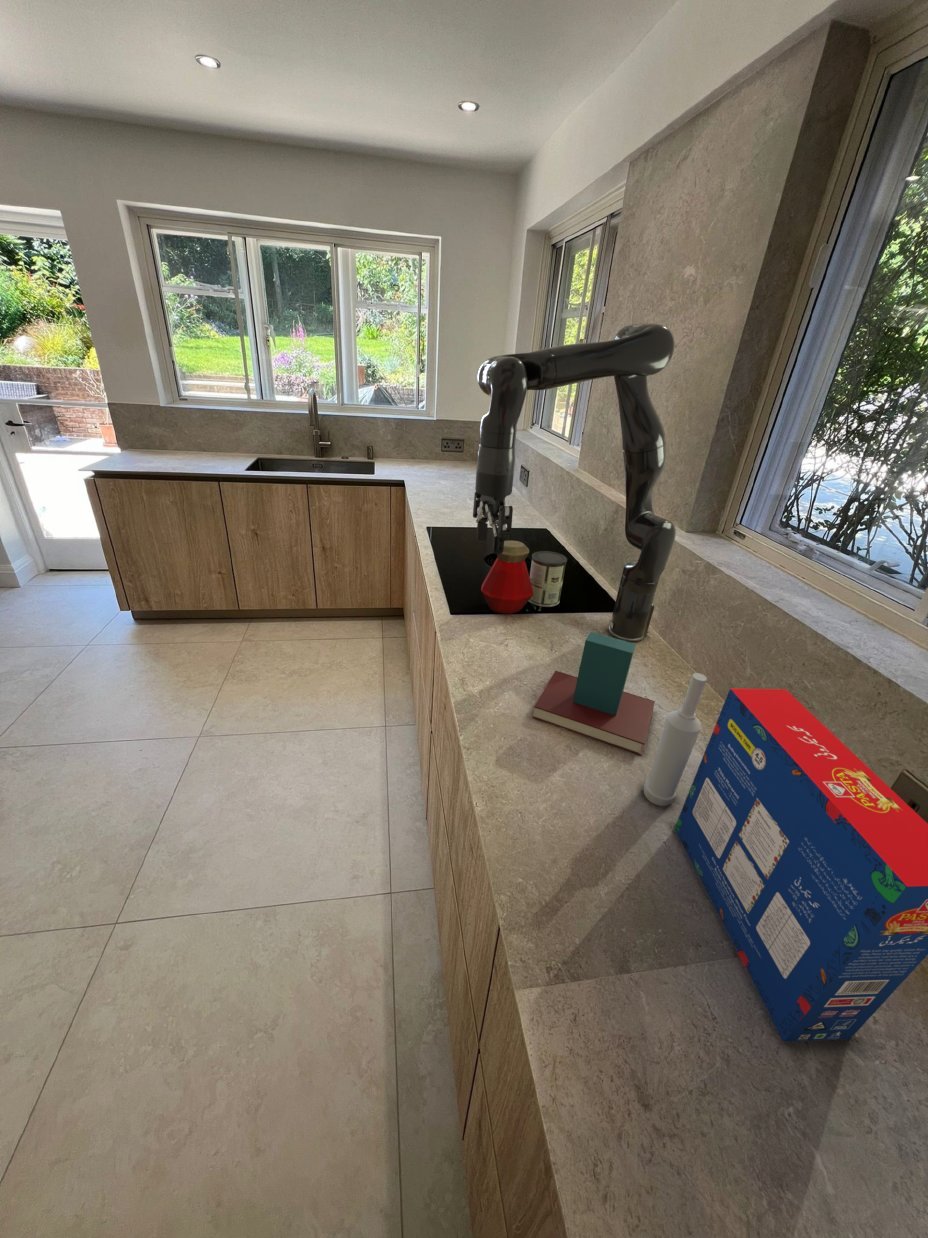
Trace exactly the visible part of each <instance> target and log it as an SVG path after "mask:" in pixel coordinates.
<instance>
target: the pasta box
mask: <svg viewBox="0 0 928 1238" xmlns="http://www.w3.org/2000/svg"><path fill="white" fill-rule="evenodd" d="M714 725H715V726H714V728H713V730H712V733H711V734H710V735H711V736H710V738H709V741H708V743H707V746H706V747H705V751H704V753H703V755H702V758H701V761H700V763H699V766H698V768H697V771H696V773H695V776H694V778H693V781H692V784H691V786H690V788H689V791H688V793H687V795H686V798H685V801H684V804H683V806H682V808H681V811H680V813H679V816H678V818H677V821H676V824H675V827H674V831H675V833H676V835H677V837H678V839H679V841H680V843H681V845H682V847H683V848H684V851H685V852H686V855H687V856H688V859H689V860H690V863H691V864H692V866H693V868H694V870H695V872H696V875H697V876H698V878H699V880H700V883H701V884H702V886H703V888H704V890H705V891H706V893H707V896H708V897H709V899H710V902H711V903H712V905H713V908H714V909H715V911H716V913H717V915H718V917H719V919H720V922H721V923H722V925H723V927H724V929H725V931H726V932H727V934H728V937H729V938H730V940H731V943H732V945H733V946H734V948H735V950H736V952H737V954H738V956H739V958H740V960H741V962H742V963H743V965H744V968H745V970H746V972H747V974H748V975H749V977H750V979H751V981H752V984H753V985H754V987H755V989H756V991H757V993H758V995H759V997H760V999H761V1001H762V1003H763V1005H764V1007H765V1008H766V1011H767V1012H768V1014H769V1016H770V1018H771V1020H772V1022H773V1024H774V1026H775V1028H776V1031H777V1032H778V1034H779V1036H780V1038H781V1040H782V1042H783V1043H792V1042H795V1043H796V1042H814V1041H833V1040H834V1041H835V1040H851V1039H852V1038H853V1037H854V1035H855V1034H856V1033H858V1031H859V1030H860V1029H861V1028H862V1027H863V1026H864V1025H865V1023H866V1022H868V1021H869V1019H870V1018H871V1017H872V1016H873V1015H874V1014H875V1013H876V1012H877V1011H878V1010H879V1008H880V1007H881V1006H882V1005H883V1004H884V1003H885V1002H886V1001H887V1000H888V999H889V997H890V996H892V994H893V993H894V992H895V991H896V990H897V989H898V988H899V986H900V985H901V984H903V982H904V981H905V980H906V979H907V978H908V977H909V976H910V974H911V973H913V971H914V970H915V969H916V968H917V967H918V966H919V965H920V964H921V963H922V962H923V960H925V958H927V956H928V822H927V821H925V819H923V818H922V817H921V816H920V814H918V812H916V811H915V810H914V809H913V808H912V807H911V806H909V805H908V804H907V803H906V802H905V801H904V799H902V798H901V797H900V796H899V795H898V794H897V793H896V792H895V791H894V790H893V789H891V787H890V786H889V785H888V784H886V783H885V782H884V781H883V780H882V779H881V778H880V777H879V776H878V775H877V774H876V773H875V772H874V771H873V770H872V769H870V767H869V766H868V765H866V763H864V762H863V760H861V759H860V757H858V756H857V755H856V754H855V753H854V752H853V751H852V750H851V749H849V748H848V747H847V746H846V745H845V744H844V742H842V740H840V739H839V738H838V737H837V736H836V735H834V733H833V732H831V730H829V729H828V728H827V727H826V726H825V725H824V724H823V723H822V722H821V721H820V720H819V719H818V718H817V716H815V715H814V714H813V713H812V712H810V711H809V710H808V709H807V707H805V706H804V704H802V702H800V701H799V700H798V699H797V698H796V697H795V696H794V695H793V694H792V693H790V691H788V690H787V689H786V688H783V689H782V688H734V687H733V688H731V687H730V688H729V690H728V693H727V695H726V697H725V700H724V703H723V706H722V708H721V710H720V713H719V716H718V718H717V720H716V723H715V724H714Z"/></svg>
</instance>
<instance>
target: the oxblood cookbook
mask: <svg viewBox="0 0 928 1238" xmlns="http://www.w3.org/2000/svg"><path fill="white" fill-rule="evenodd" d="M577 678H578V676H574V675H571V674H568V673H564V672H561V671H558V670H554V672H553V673H552V675H551V677H550V679H549V680H548V682H547V684H546V685H545V687H544V689H543V691H542V693H541V694H540V696H539V697H538V698H537V701H536V702H535V704H534V706H533V708H534V709H533V715H532V719H535V720H538V721H541V722H543V723H546V724H549V725H552V726H555V727H558V728H560V729H563V730H567V731H568V732H569V731H570V732H573V733H575V734H578V735H581V736H584V737H587V738H590V739H592V740H595V741H598V742H601V743H603V744H606V745H610V746H613V747H615V748H619V749H621V750H624V751H627V752H630V753H632V754H635V755H638V756H641V757H642V755H643V751H644V747H645V745H646V742H647V738H648V733H649V729H650V725H651V720H652V716H653V711H654V708H655V703H656V700H653V699H650V698H646V697H642V696H639V695H637V694H633V693H630V692H628V691H627V692H626V691H625V690H623V694H622V698H621V701H620V705H619V708H618V711H617V714H616V716H615V715H612V714H608V713H605V712H602V711H599V710H596V709H593V708H590V707H587V706H584V705H581V704H578V703H575V702H572V701H573V697H574V692H575V687H576V682H577Z"/></svg>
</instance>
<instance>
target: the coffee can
mask: <svg viewBox="0 0 928 1238" xmlns="http://www.w3.org/2000/svg"><path fill="white" fill-rule="evenodd" d="M567 562H568V558H567V557H566V556H565V555H564V554H562V553H559V552H555V551H549V550H539V551H534V552H533V553H532V554H531V565H530V571H529V577H530V581H531V584H532V588H533V596H532V597H531V598H530V599H529V601H528V603H530V604H532V605H535V606H538V607H543V608H552V607H556V606H557V605H559V604H560V601H561V596H562V595H561V594H562V589H563V583H564V578H565V577H564V576H565V571H566V567H567V566H566V565H567Z"/></svg>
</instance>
